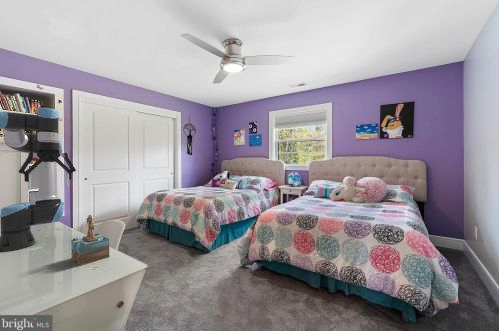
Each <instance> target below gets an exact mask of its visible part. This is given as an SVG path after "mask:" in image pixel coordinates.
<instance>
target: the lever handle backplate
mask: <svg viewBox="0 0 499 331" xmlns="http://www.w3.org/2000/svg"><path fill="white" fill-rule="evenodd" d="M86 224H87V226H88V227H87V228H88V230H87V235H85V236H82V238H83V239H84V240H86V241H87V242H94V241H98V238H96V237H94V236H93V235H94V232H93V231H94V230H95V225H94V223H93V216H92V215H91V214H89V215H88V216H87V218H86Z"/></svg>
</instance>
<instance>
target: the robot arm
mask: <svg viewBox="0 0 499 331" xmlns="http://www.w3.org/2000/svg"><path fill="white" fill-rule="evenodd" d="M59 117H60V116H59V111H58V109H55V108H51V107H38V108H37V111H36V114H31V113H30V114H29V113H20V112H11V111H5V110H3V111H2V110H1V111H0V129H1V130H2V132H3V142H4V143H5V145H6V146H7V147H9V148H11V149H12V150H14V151H17V152H20V153H25V154H27V157H26V159H25V161H24V162H23V164H22V165H21V167H20V169H19V170H18V174H22V175H24V176H23V177H24V182H26V183H27V190H32V174H30V173H31V172H33V171H34V170H35V169H36V168H37V177H38V178H37V183H38V184H37V185H38V186H37V187H38V198H37V199H36V200H35V201H34V204H31V203H30V202H28V201H27V202H18V203H14V204H10V205H6V206H3V207H2V208H0V252H11V251H17V250H18V251H19V250H21V249H26V248H29V247H31V246H33V245H35V243H36V239H35V237H34V234H33V233H32V232H33V231H32V230H31V226H37V225H45V224H53V223H57V222H60V221H61V220H63V215H64V208H65V207H64V206H65V201H62V198H60V196H59V195H58V172H57V171H58V168H57V164H58V166H60V167H61V168H62V169H63V170H65V173H64V174H65V176H64V177H65V179H64V181H65V187H70V180H72V173H74V172H76V171H77V169H76V168H75V166H74V164H73V163H72V161H71V160H70V157H69V156H68V155H69V154H68V152H63V149H62V148H63V147H62V142H61V141H62V140H61V138H60V136H59V134H60V133H59V131H60V130H59V119H60V118H59ZM25 131H35V132H36V131H37V133H30V132H29V133H28V132H25ZM60 157H62V158H63V159H64V161H65V162H66V164H67V165H65V163H63V161H61V159H60ZM33 158H37V160H36V161H35V162H34V163H32V165H30V167H28V165H29V164H30V163H31V161H32V159H33ZM27 167H28V168H27ZM26 168H27V169H26Z"/></svg>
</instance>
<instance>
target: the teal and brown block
mask: <svg viewBox="0 0 499 331" xmlns="http://www.w3.org/2000/svg"><path fill="white" fill-rule="evenodd" d="M93 236H94V237H96V238H98V241H94V242H87V241H86V240H84V239H83V237H80V238H78V237H74V238H72V240H71V260H73V261H74V262H75V263H77V264H78V265H79V266H84V265H87V264H91V263H94V262H97V261H101V260H104V259H107V258H110V239H109V236H104V235H102V234H101V233H100V232H96V233H95V234H93Z"/></svg>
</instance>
